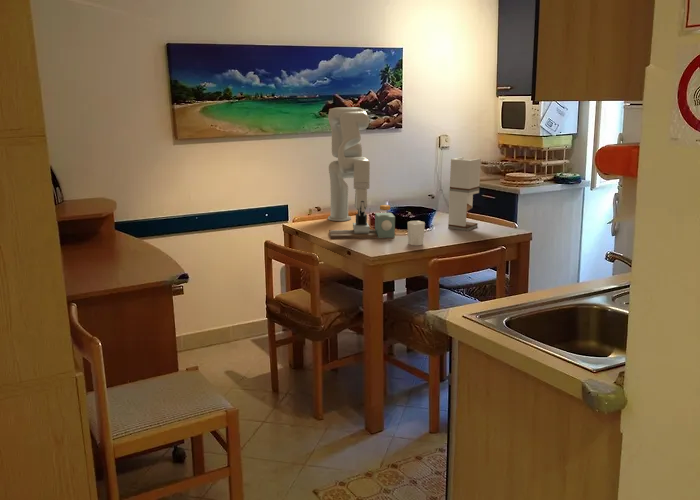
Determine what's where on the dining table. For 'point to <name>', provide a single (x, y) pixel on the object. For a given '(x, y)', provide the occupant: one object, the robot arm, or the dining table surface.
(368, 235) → the rail board
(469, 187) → the coffee grinder
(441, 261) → the dining table surface
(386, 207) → the button
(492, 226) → the dining table surface
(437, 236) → the dining table surface
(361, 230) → the carriage
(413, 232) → the white cup
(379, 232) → the pale green block
